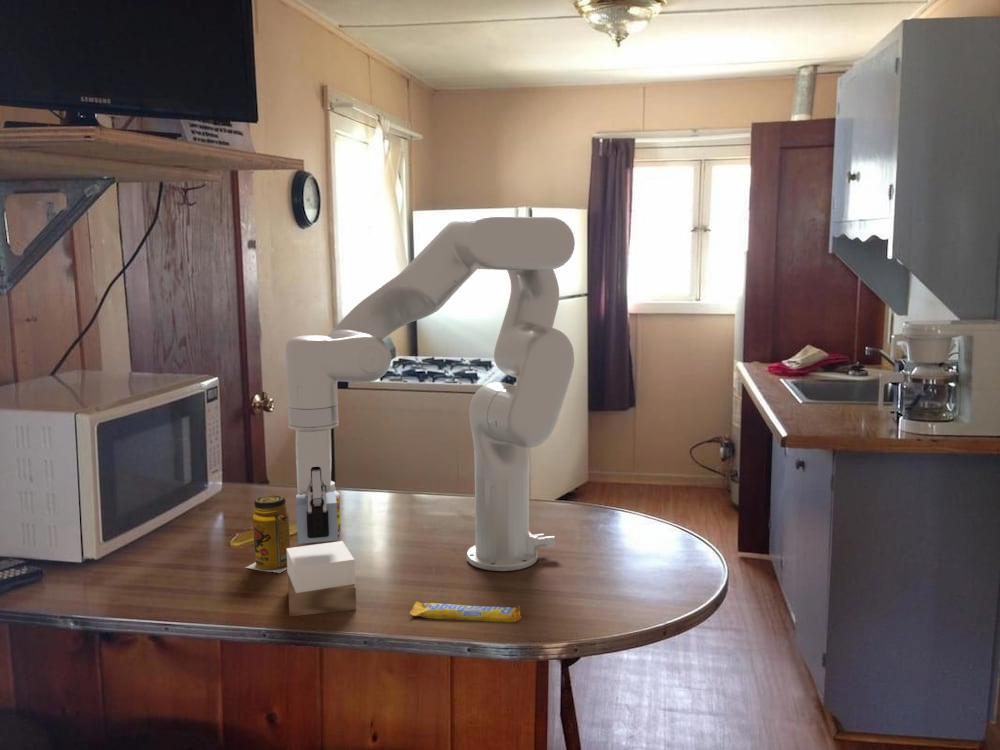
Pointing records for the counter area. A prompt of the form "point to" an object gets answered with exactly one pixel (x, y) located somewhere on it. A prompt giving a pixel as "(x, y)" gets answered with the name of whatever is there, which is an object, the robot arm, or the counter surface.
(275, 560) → the condiment
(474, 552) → the robot arm
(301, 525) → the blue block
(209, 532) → the counter surface
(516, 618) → the candy bar
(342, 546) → the tower top block
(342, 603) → the tower base block
